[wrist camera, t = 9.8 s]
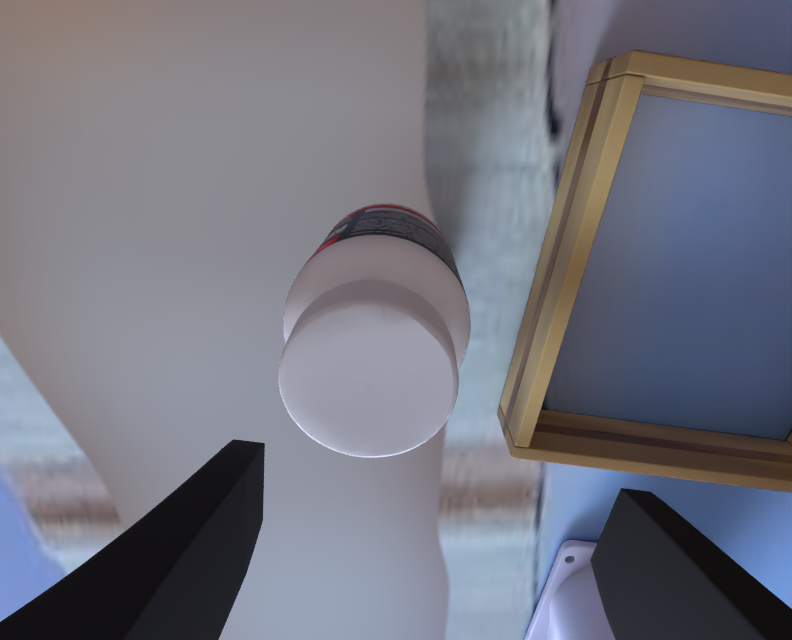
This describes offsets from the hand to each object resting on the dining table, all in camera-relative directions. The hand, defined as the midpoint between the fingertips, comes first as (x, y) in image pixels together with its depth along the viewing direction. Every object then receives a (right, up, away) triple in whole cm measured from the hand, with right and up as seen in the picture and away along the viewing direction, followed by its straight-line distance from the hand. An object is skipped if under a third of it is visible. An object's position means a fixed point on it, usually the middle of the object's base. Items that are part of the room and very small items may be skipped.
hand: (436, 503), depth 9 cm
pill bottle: (-1, +6, +9) cm, 11 cm away
